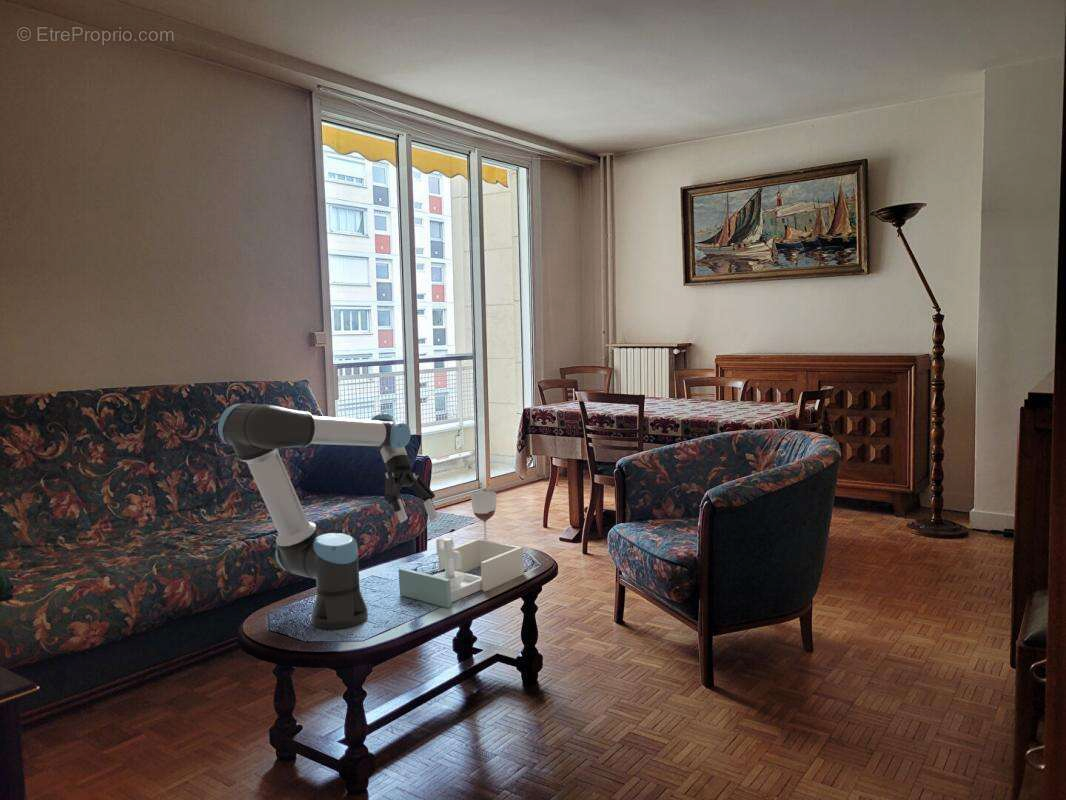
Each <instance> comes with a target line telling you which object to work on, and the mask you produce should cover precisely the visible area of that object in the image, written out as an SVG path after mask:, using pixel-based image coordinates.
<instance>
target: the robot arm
mask: <svg viewBox="0 0 1066 800" xmlns="http://www.w3.org/2000/svg"><path fill="white" fill-rule="evenodd" d="M217 427H218V428H217V431H218V436H219V437H220V440H222V442H224V443H225V444H226V445H228V446H231V447H233V450H234V452H235V454H236V457H237V459H238V461H240V462H244V463H246V464H247V467H248V469H249V470H250V473H251V475H252V477H253V480H254V481H255V484H256V487H257V489H258V491H259V492H260V495H261V497H262V500H263V501H264V504H265V507H266V509H267V511H268V513H269V516H270V518H271V520H272V522H273V524H274V526H275V529H276V530H277V533H278V534H277V536H276V539H275V542H276V545H275V547H276V550H275V551H274V556H275V560H276V562H277V564H278V566H279V567H280V568H282V569H283V570H284V571H286V572H288V573H289V574H292V575H297V576H301V577H304V578H309V579H313V580H315V582H316V584H315V585H316V598H315V601H314V604H313V608H312V612H311V624H312V626H314V627H315V626H316V627H315V628H317V627H319V628H318V629H321V628H323V629H322V630H340V629H341V630H342V629H348V628H351V627H354V626H357V625H359V624H361V623H363V622H365V621H366V620H367V619H368V607H367V604H366V602H365V599H364V596H363V595H362V591H361V590H360V589H361V588H360V569H359V568H360V565H359V563H360V562H359V549H358V544H357V543H358V542H357V541H356V539H355V538H354V537H353V536H351V535H349V534H347V533H341V532H340V533H336V532H328V533H327V532H326V533H323V534H320V531H319V529H318V527H317V525H316V523H315V522H313V521H310V520H308V519H307V515H306V514H305V511H304V509H303V506H302V504H301V501H300V499H299V497H298V495H297V492H296V491H295V487H294V486H293V483H292V481H291V479H290V476H289V474H288V472H287V468H286V467H285V464H284V462H283V460H282V457H281V455H280V452H279V449H286V448H306V447H309V446H310V445H313V444H314V445H333V446H334V445H337V446H339V445H340V446H366V447H369V446H370V447H378V448H377V449H378V451H379V453H380V455H381V458H382V460H383V462H384V464H385V465H384V466H385V469H386V472H385V473H384V474H383V479H384V500H385V502H387V503H388V504H389V505H392V506H393V510H394V512H395V513H396V516H397V518H398V520H399V523H400V524H401V523H404V522H405V521H406V520H408V518H409V517H408V515H407V513H406V510H405V508H404V505H403V502H402V499H401V498H399V496H400V492H401V490H402V488H403V487H404V488H408V489H409V490H412V491H413V492H414V494H416V495H418V497H419V498H421V500H422V501H423V506H424V508H425V511H426V513H427V516H428V519H429V521H430V522H434V521H435V520H436V519H438V518H439V516H438V513H437V511H436V508H435V505H434V501H433V499H434V498H435V497H436V495H435V493H434V492H433V491H432V489H431V488H430V487H429V485H428V484H427V483H426V481H425V480H424V478H422V476H421V474H420V472H419V471H416V472H412V470H411V467H412V463H411V461H410V458H409V456H408V452H407V450H406V448H405V447H406V446H407V445H408V444H409V442H410V441H411V437H412V436H411V434H412V432H411V428H410V426H409V425H408V424H407V423H406V422H401V421H394V419H393V417H392V415H391V414H390V413H387V412H383V413H379V414H376V415H374V416H373V417H372V418H371V419H364V418H363V419H362V418H361V419H359V418H348V417H338V416H337V417H336V416H334V417H333V416H323V415H322V416H321V415H320V416H319V415H313V414H312V413H310V412H309V411H304V410H296V409H292V408H287V407H283V406H278V405H274V404H257V403H255V404H254V403H249V402H243V403H235V404H232V405H230V406H229V407H228V408H226V409H225V410H224V411H223V412H222V414H221V415H220V419H219V420H218V424H217Z"/></svg>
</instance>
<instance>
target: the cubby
mask: <svg viewBox="0 0 1066 800" xmlns="http://www.w3.org/2000/svg"><path fill="white" fill-rule="evenodd" d="M453 550H455V551H458V552H460V554H461V565H462V566H461V568H460V569H455V564H454V571H458V572H463V573H467V572H468V571H471V570H474V569H476V568H479V567H480V575H481V576H480V577H481V581H482V589H481V591H482V592H484V593H485V592H487V591H489V590H492V589H494V588H496V587H498V586H500V585H501V586H502V585H503V584H506V583H507V582H510V581H512V580H514V579H518V578H519V577H520V576H523V575H524V573H525V571H524V548H523V546H517V545H512V544H507V543H503V542H497V541H492V540H484V539H483V538H482V539H481V538H476V539H474V540H470V541H468V542H465V543H463V544H460V545H456V546H454V547H453ZM437 557H438V571H439V570H443V569H445V560H444V557H441V556H439V555H438V554H437Z"/></svg>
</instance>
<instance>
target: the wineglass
mask: <svg viewBox="0 0 1066 800" xmlns="http://www.w3.org/2000/svg"><path fill="white" fill-rule="evenodd" d="M470 499H471V508H472V512H473V515H474V516H475V518H477V519H479V520H480V521H481V522H483V537H484V538H483V540H487V538H488V536H487V535H488V534H487V521H488V520H490V519H492V517H493V516H494V515H495V513H496V509H497V492H495V491H493V490H492V491H491V490H490V491H488V490H483V491H482V490H480V491H477V492H473V493H471V494H470ZM487 541H488V540H487Z"/></svg>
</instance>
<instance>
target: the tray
mask: <svg viewBox="0 0 1066 800" xmlns="http://www.w3.org/2000/svg"><path fill="white" fill-rule="evenodd" d="M440 573H442V572H440ZM462 573H463V572H462ZM465 573H466V576H465V577H464V579H463V581H462V583H461V585H460V586H458V587H455V588H453V589H450V579H446V578H442V577H438V576H434V575H436V574H439V572H437V573H434V574H429V573H425V572H421V571H417V570H413V569H407V568H404V567H401V568H398V583H399V586H398V587H399V596H402V597H407V598H409V599H413V600H414V599H415V600H417V601H421V602H425V603H428V604H432V605H436V606H439V607H443V608H447V609H448V608H450V607H452V603H453V602H457V601H458V600H461V599H463V598H465V597H467V596H469V595H472V594H475V593H477V592H480V591H482V581H481V576H479V575H475V574H470V573H467V572H465Z"/></svg>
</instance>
